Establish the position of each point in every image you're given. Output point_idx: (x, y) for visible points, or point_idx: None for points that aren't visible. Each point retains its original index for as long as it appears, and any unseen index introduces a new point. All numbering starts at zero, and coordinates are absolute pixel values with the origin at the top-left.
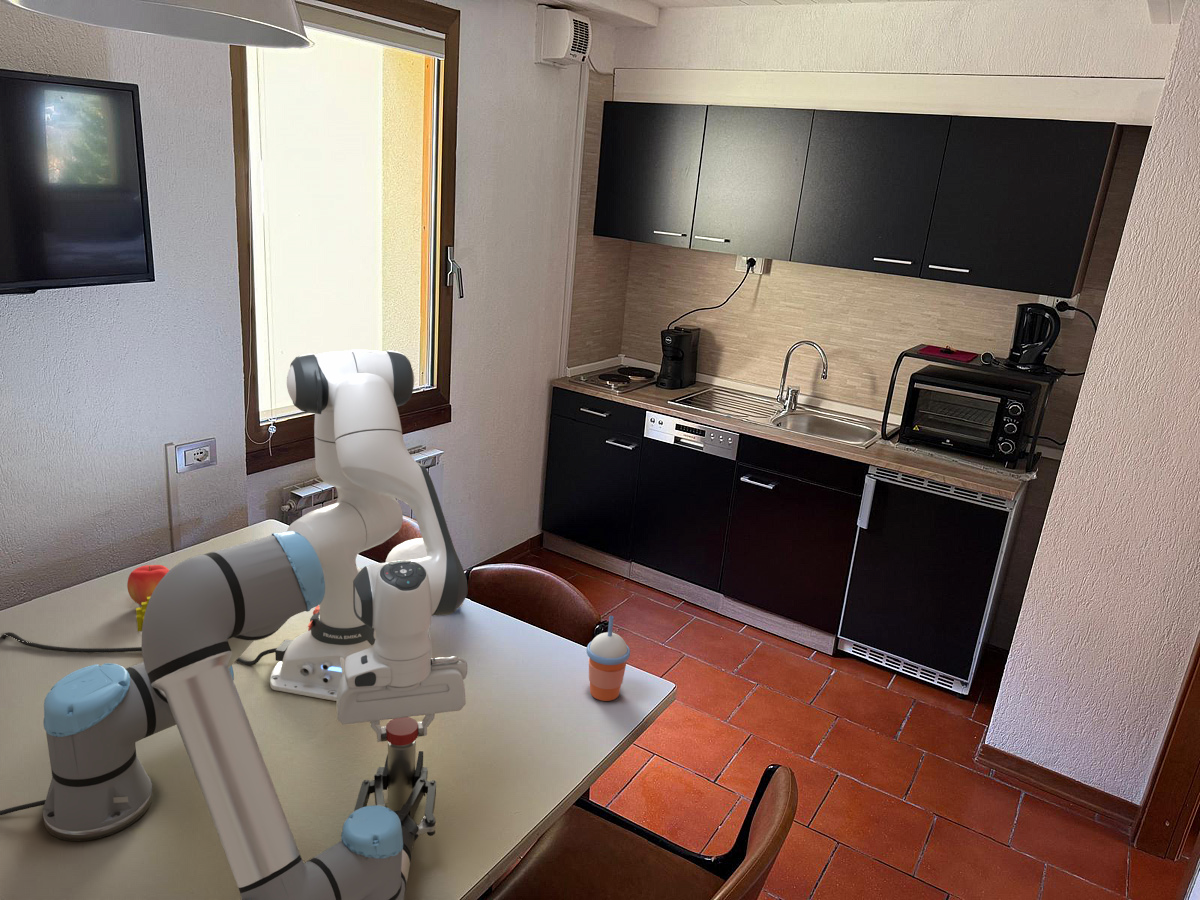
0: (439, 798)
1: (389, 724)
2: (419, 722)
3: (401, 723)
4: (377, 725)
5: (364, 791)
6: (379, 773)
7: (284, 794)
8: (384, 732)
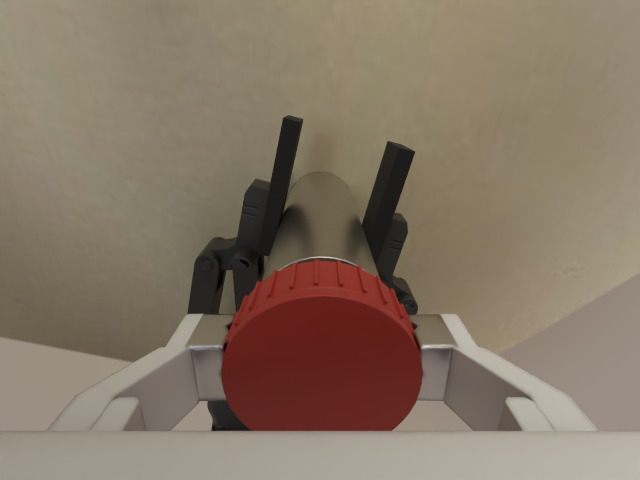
0: (417, 185)
1: (242, 356)
2: (436, 350)
3: (320, 360)
4: (153, 420)
5: (204, 302)
6: (245, 259)
7: (14, 73)
8: (215, 395)
